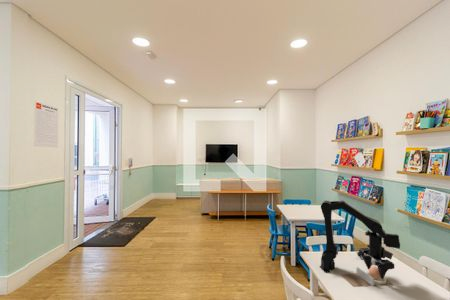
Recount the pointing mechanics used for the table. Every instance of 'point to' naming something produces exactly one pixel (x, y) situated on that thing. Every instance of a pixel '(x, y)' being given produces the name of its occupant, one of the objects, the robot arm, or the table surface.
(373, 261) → the robot toy
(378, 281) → the ring
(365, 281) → the fence board
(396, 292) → the table surface
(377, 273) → the rubber ball
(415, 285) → the table surface
